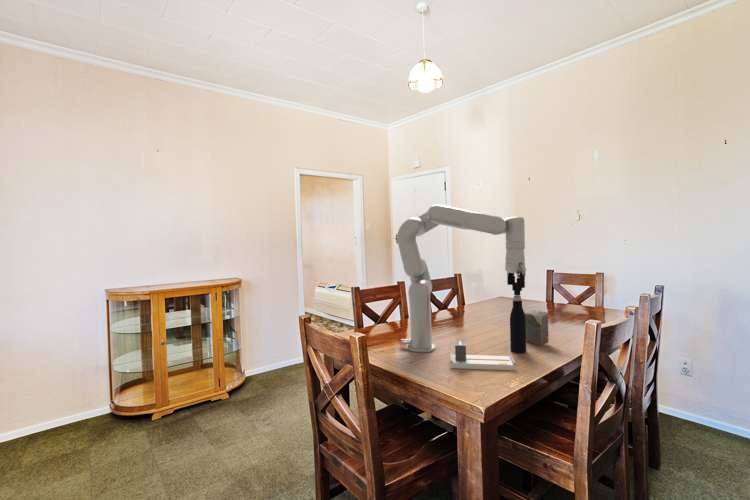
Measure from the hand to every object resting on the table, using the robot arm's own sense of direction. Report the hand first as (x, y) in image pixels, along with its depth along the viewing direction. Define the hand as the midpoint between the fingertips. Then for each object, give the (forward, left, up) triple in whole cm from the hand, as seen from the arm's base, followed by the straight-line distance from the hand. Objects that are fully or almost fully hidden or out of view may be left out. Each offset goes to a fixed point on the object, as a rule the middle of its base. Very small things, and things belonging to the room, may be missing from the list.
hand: (515, 286), depth 153 cm
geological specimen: (+11, +17, -29) cm, 35 cm away
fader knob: (-24, -15, -27) cm, 39 cm away
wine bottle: (+1, +3, -29) cm, 29 cm away
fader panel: (-16, -15, -29) cm, 37 cm away
